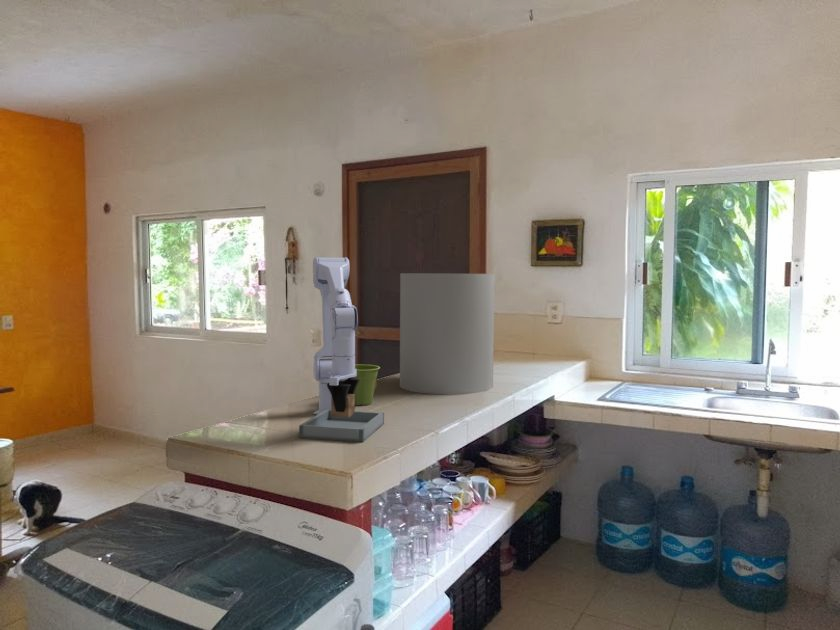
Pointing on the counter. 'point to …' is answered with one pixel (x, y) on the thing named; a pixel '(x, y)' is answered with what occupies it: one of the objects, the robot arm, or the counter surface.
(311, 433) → the bin
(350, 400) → the block
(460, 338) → the cylinder container
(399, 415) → the counter surface
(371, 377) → the plant pot
